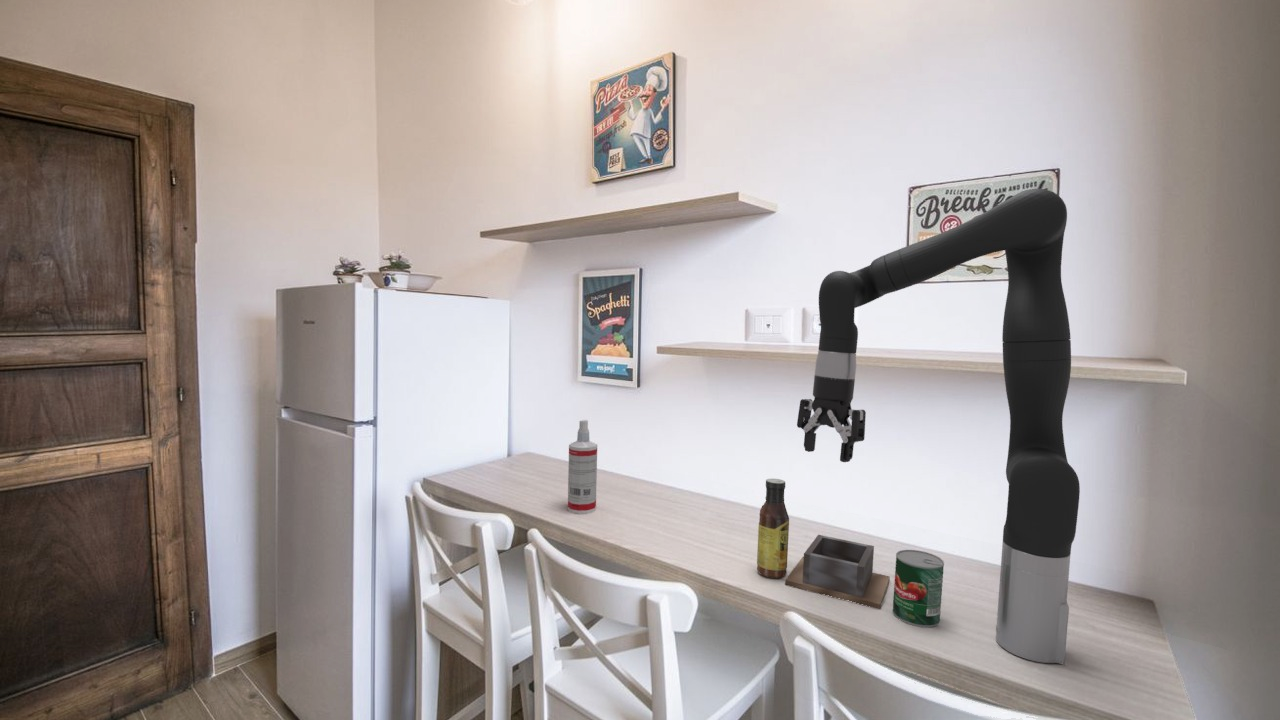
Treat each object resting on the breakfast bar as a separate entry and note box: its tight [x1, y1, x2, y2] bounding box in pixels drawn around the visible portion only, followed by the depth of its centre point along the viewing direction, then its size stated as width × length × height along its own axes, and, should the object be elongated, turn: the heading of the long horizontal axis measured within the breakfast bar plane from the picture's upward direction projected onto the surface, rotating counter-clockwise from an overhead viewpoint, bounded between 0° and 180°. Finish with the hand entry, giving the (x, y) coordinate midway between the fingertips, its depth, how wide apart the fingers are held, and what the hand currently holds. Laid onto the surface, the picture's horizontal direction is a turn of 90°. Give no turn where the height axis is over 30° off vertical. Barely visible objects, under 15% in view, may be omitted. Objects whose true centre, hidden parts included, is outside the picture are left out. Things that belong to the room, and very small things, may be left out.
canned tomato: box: [891, 549, 945, 628], centre depth 104 cm, size 8×8×11 cm
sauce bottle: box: [756, 478, 790, 579], centre depth 121 cm, size 7×6×20 cm
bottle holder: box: [784, 534, 891, 610], centre depth 117 cm, size 18×14×7 cm
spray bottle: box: [567, 419, 598, 515], centre depth 158 cm, size 8×8×25 cm
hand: (826, 456), depth 113 cm, fingers open, 8 cm apart
